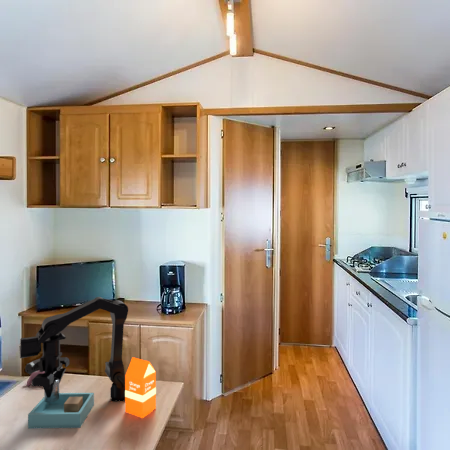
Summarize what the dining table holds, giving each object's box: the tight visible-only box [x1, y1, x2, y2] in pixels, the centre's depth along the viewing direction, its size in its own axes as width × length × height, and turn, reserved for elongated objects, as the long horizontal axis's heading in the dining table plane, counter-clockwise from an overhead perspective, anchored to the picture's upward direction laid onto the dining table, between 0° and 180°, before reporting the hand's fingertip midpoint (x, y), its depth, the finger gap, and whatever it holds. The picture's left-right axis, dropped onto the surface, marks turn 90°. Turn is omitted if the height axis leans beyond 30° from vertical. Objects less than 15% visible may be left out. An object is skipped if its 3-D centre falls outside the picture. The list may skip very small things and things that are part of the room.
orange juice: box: [124, 356, 157, 419], centre depth 139 cm, size 8×9×20 cm
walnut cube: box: [64, 397, 83, 412], centre depth 135 cm, size 5×5×5 cm
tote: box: [27, 392, 95, 429], centre depth 135 cm, size 18×15×5 cm
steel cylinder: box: [43, 377, 60, 403], centre depth 135 cm, size 5×5×7 cm
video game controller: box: [26, 370, 45, 387], centre depth 160 cm, size 10×5×7 cm, turn 85°
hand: (52, 393), depth 135 cm, fingers closed on steel cylinder, 5 cm apart
